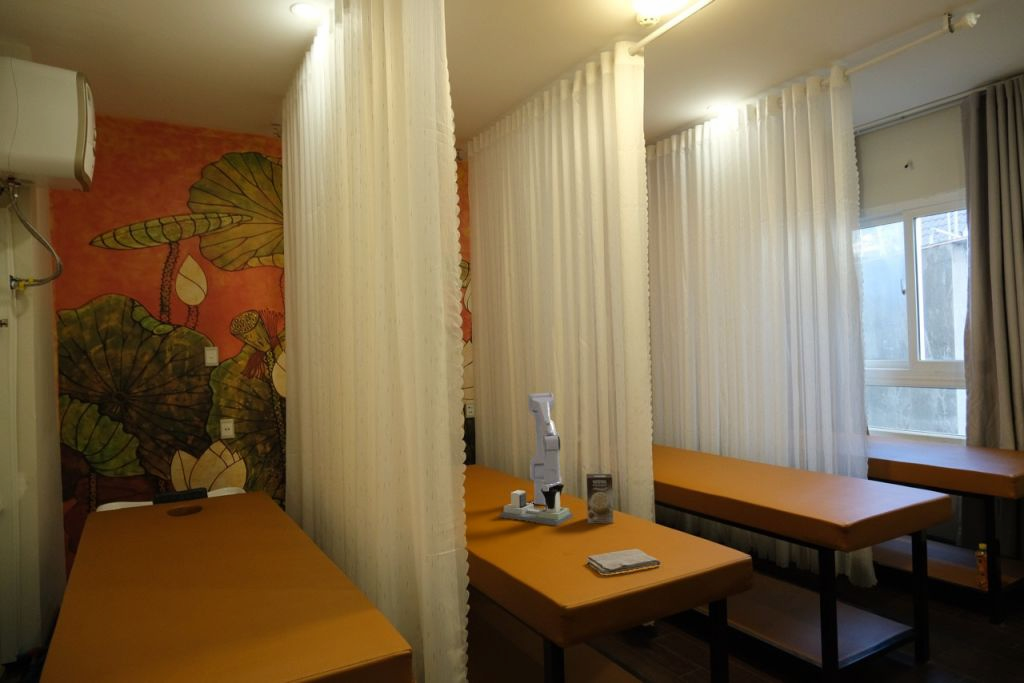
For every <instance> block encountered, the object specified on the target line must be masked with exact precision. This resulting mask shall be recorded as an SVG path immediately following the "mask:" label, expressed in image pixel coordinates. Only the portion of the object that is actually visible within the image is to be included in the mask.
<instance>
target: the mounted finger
mask: <svg viewBox="0 0 1024 683" xmlns="http://www.w3.org/2000/svg"><path fill="white" fill-rule="evenodd" d="M510 501H511V503H510V504H511V507H515V508H523V507H525V506H527V504H526V503H527V493H526V490H520V489H517V490H515V491H511V492H510Z"/></svg>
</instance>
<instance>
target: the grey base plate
mask: <svg viewBox="0 0 1024 683" xmlns="http://www.w3.org/2000/svg"><path fill="white" fill-rule="evenodd" d="M526 504H527V506H525V507H523V508H515V507H511V503H509V504H507V505H504V506H503V511H502V512H500V513H499V518H501V517H504V518H503V519H508V518H511V519H510V520H514V519H518V520H517V521H521V520H525V521H524V522H528V521H530V523H534V522H536V523H535V524H541V523H542V524H541V525H549V526H554V527H557V526H559V525H560V524H561V525H562V524H563V523H564V522H566V521H568V520H570V519H572V518H573V517H574V512H570V508H569V507H568V508H567V507H561V506H560V512H558V513H551V512H547V510H546V507H544V508H540V507H539V508H538V507H534V506H535V505H534V504H533V503H531V502H530V503H529V502H526ZM571 517H572V518H571Z"/></svg>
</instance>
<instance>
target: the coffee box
mask: <svg viewBox="0 0 1024 683" xmlns="http://www.w3.org/2000/svg"><path fill="white" fill-rule="evenodd" d="M585 477H586V481H585V482H586V514H587V515H586V516H587V517H586V518H587V523H588V524H614V522H615V521H614V494H613V493H614V492H613V491H614V490H613V475H612V474H611V473H586V476H585Z"/></svg>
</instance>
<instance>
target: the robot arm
mask: <svg viewBox="0 0 1024 683" xmlns="http://www.w3.org/2000/svg"><path fill="white" fill-rule="evenodd" d="M554 406H555V398H554V393H552V391H551V392H542V393H539V392H538V393H529V394H528V395H527V407H528V408H527V410H528V413H529V414H530V415H533V418H534V435H535V452H536V453H535V456H533V457H532V458H531V459H530V461H529V476H530V479H531V480H533V489H534V490H533V492H534V500H532V501H530V503H531V504H533V503H534V504H535V505H541V506H546V505H545V500H546V503H547V507H548V509H554V506H555V496H556V493H557V491H560V497H561V495H562V491H563V490H564V485H565V484H562V483H563V477H562V476H561V465H560V451H561V448H562V447H561V438H560V437H561V436H560V435H559V433H558V432H557V429H556V424H555V422H554V421H553V420H552V419H551V418H552V417H551V413H552V411H553V408H554Z"/></svg>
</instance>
